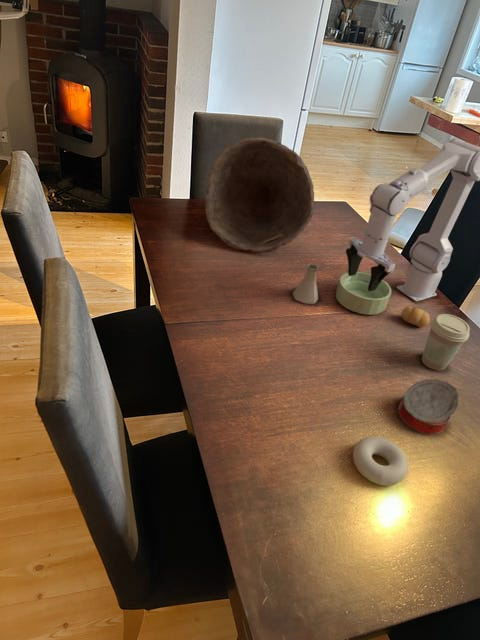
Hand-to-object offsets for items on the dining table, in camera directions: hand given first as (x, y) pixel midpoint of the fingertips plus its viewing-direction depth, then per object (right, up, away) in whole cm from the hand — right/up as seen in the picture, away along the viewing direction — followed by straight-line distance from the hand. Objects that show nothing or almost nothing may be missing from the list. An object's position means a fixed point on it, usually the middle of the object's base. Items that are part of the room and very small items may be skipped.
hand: (361, 282), depth 122 cm
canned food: (+7, -30, -22) cm, 38 cm away
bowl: (-24, +18, +36) cm, 47 cm away
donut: (-6, -37, -34) cm, 51 cm away
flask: (-13, -4, +10) cm, 17 cm away
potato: (+15, -11, +6) cm, 20 cm away
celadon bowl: (+2, -5, +11) cm, 12 cm away
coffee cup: (+16, -20, -7) cm, 27 cm away
